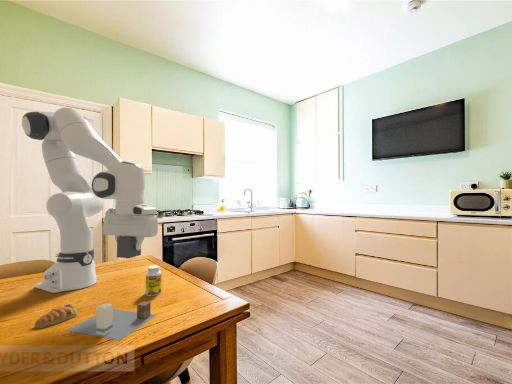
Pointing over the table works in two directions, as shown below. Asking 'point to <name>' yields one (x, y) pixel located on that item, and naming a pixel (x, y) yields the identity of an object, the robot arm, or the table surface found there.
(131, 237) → the dark gray block
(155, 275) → the supplement bottle
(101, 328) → the post
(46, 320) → the pastry
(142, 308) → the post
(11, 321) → the table surface
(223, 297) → the table surface
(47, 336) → the table surface
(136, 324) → the mat
